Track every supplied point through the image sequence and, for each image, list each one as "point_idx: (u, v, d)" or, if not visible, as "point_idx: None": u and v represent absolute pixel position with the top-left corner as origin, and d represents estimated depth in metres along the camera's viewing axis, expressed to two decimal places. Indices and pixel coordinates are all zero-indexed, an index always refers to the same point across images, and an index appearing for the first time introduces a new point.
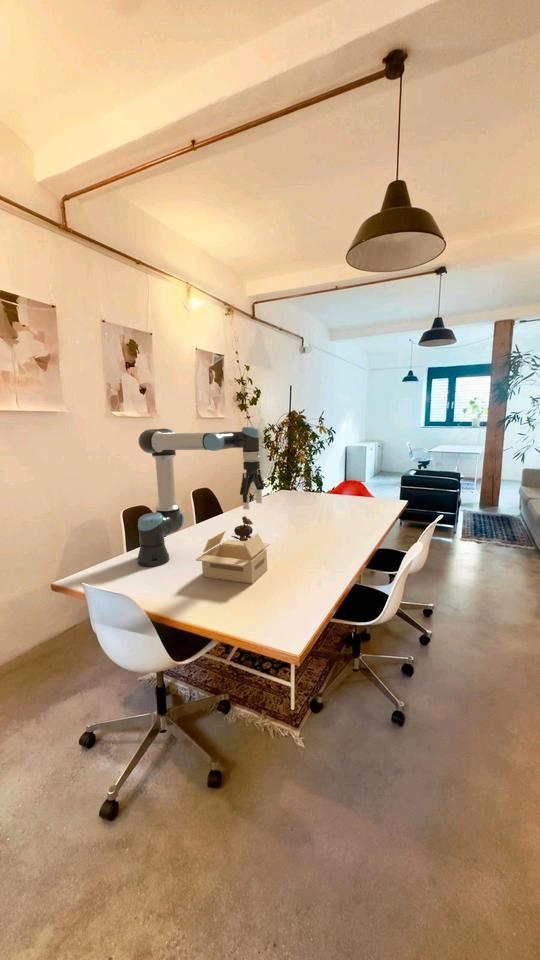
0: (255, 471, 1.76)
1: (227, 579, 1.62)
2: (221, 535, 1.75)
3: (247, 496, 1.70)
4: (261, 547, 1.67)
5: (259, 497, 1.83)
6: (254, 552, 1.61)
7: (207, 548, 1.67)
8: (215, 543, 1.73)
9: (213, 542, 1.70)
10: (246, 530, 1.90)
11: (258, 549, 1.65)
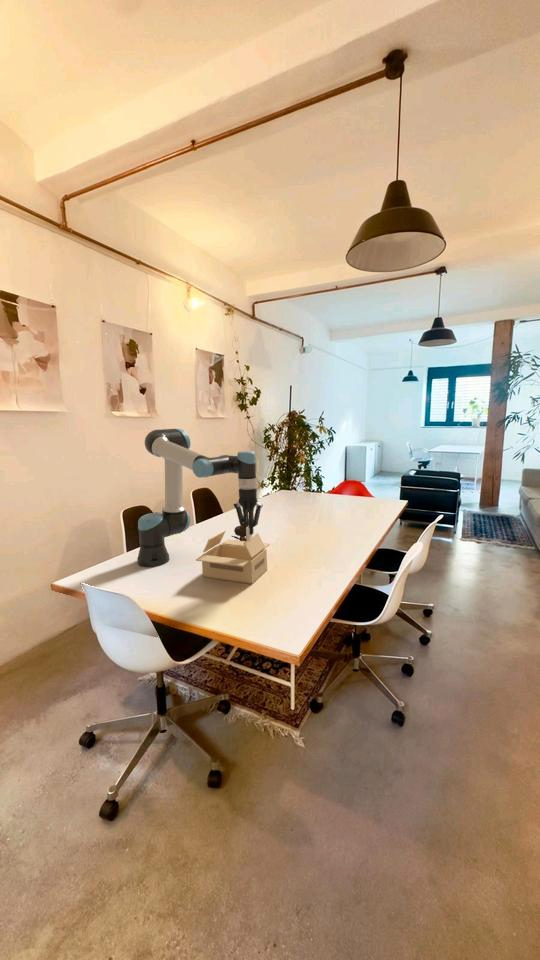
0: (251, 498, 1.60)
1: (227, 579, 1.62)
2: (221, 535, 1.75)
3: (246, 528, 1.63)
4: (261, 547, 1.67)
5: None
6: (254, 552, 1.61)
7: (207, 548, 1.67)
8: (215, 543, 1.73)
9: (213, 542, 1.70)
10: None
11: (258, 549, 1.65)
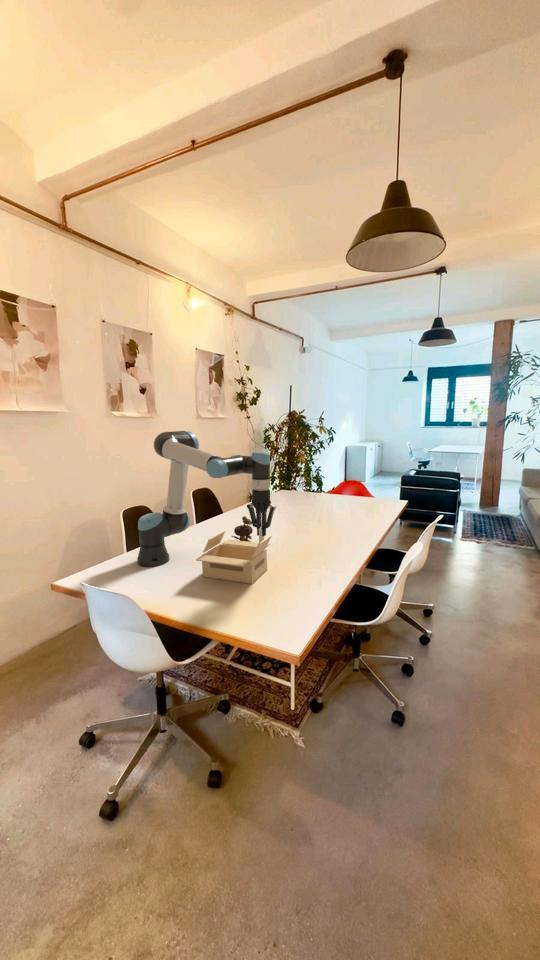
0: (265, 500, 1.58)
1: (227, 579, 1.62)
2: (221, 535, 1.75)
3: (259, 530, 1.61)
4: (263, 548, 1.67)
5: None
6: (257, 553, 1.60)
7: (207, 548, 1.67)
8: (215, 543, 1.73)
9: (213, 542, 1.70)
10: (246, 530, 1.90)
11: (261, 550, 1.64)
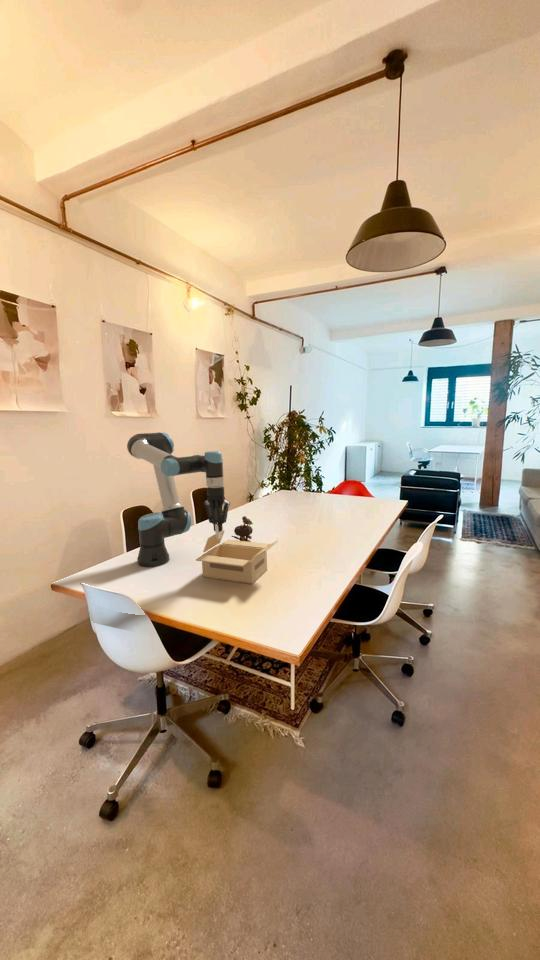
0: (219, 496, 1.66)
1: (227, 579, 1.62)
2: None
3: (215, 525, 1.69)
4: (264, 549, 1.67)
5: None
6: None
7: (207, 548, 1.67)
8: (215, 543, 1.73)
9: (213, 542, 1.70)
10: (246, 530, 1.90)
11: (262, 551, 1.64)
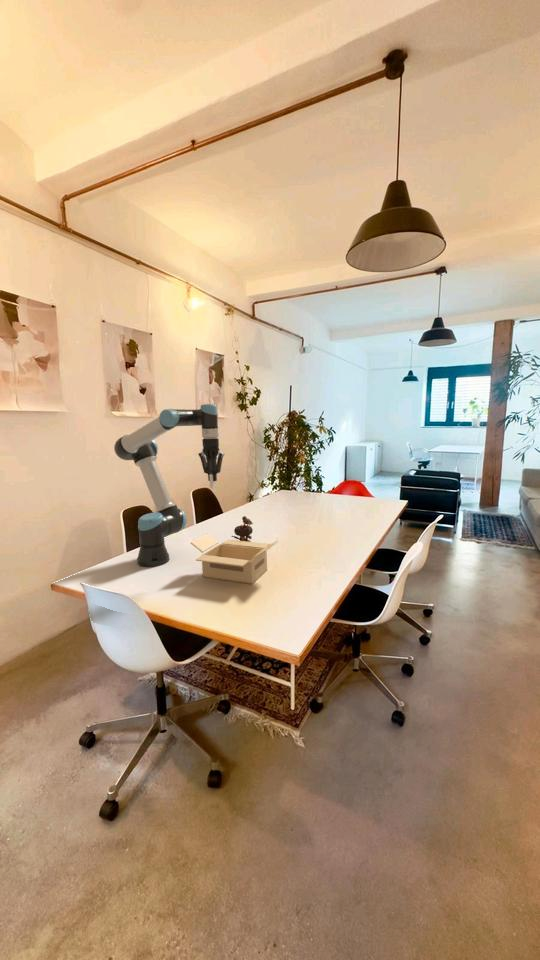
0: (214, 447, 1.76)
1: (227, 579, 1.62)
2: (207, 537, 1.78)
3: (209, 475, 1.79)
4: (264, 549, 1.67)
5: None
6: None
7: (202, 548, 1.68)
8: (210, 543, 1.74)
9: (203, 543, 1.72)
10: (246, 530, 1.90)
11: (262, 551, 1.64)
